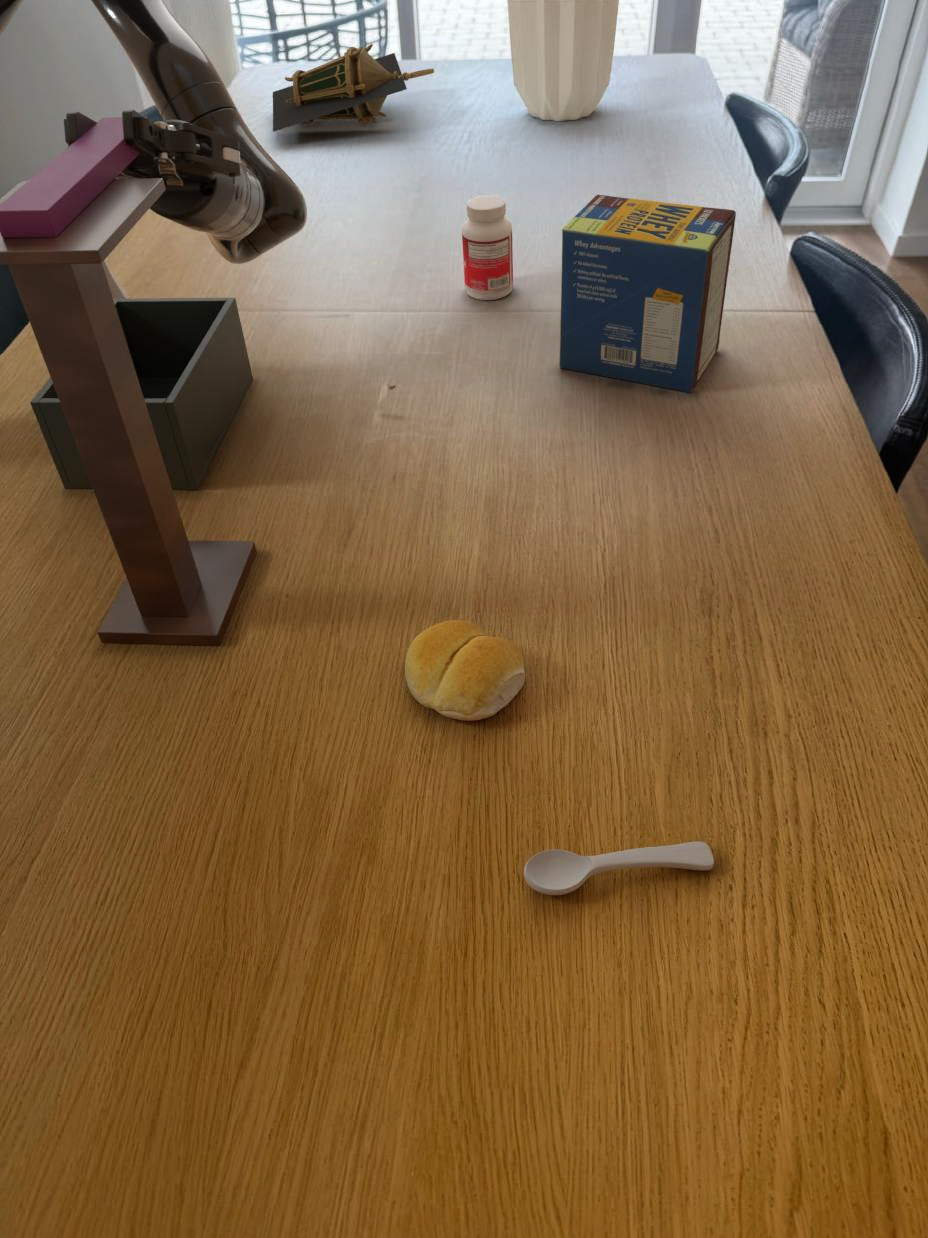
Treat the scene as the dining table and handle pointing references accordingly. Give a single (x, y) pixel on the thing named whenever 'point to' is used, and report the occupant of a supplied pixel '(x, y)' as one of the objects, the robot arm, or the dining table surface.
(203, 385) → the trash bin
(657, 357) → the protein box
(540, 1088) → the dining table surface
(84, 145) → the pink rectangular block
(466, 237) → the pill bottle
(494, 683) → the bread roll
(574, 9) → the vase
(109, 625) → the shelf stand
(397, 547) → the dining table surface
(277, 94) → the lantern
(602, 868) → the spoon
